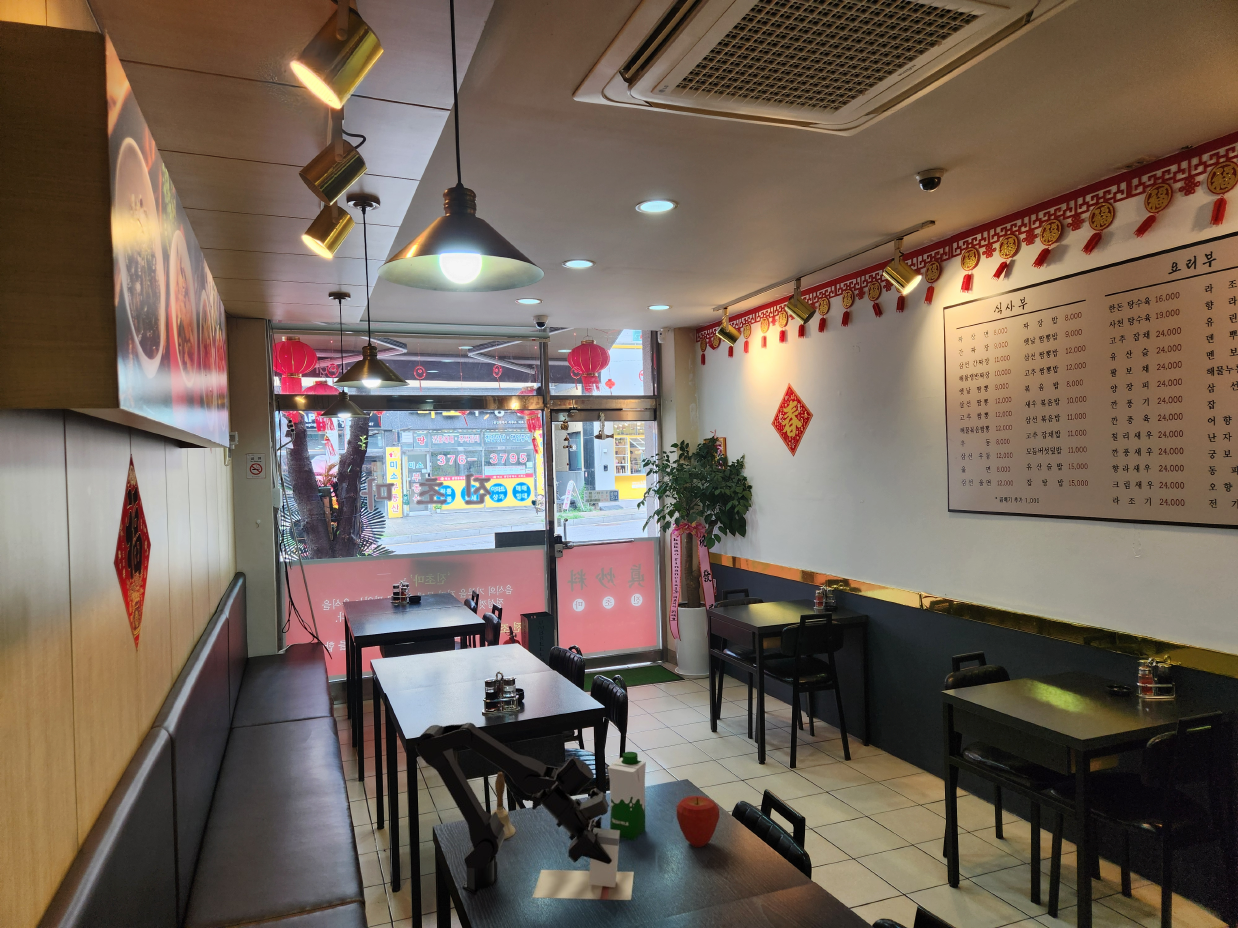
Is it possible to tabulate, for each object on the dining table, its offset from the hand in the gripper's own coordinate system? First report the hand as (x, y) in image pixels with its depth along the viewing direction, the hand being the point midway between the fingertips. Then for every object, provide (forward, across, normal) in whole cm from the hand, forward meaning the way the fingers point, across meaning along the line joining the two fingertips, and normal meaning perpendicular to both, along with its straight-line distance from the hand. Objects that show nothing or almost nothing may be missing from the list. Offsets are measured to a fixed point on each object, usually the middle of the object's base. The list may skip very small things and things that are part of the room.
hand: (611, 857), depth 177 cm
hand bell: (-17, +27, +28) cm, 42 cm away
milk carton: (+7, +28, +4) cm, 29 cm away
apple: (+20, +23, -9) cm, 31 cm away
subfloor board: (+1, 0, +10) cm, 10 cm away
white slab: (+2, 0, +5) cm, 6 cm away
